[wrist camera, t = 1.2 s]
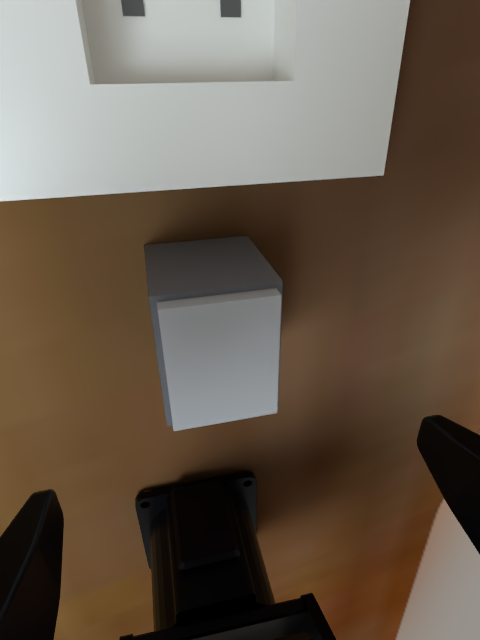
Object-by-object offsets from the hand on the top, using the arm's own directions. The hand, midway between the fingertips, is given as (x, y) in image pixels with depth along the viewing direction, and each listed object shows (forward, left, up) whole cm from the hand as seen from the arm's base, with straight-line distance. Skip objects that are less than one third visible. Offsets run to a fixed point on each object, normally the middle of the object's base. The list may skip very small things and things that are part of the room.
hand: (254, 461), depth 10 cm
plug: (0, 0, -9) cm, 9 cm away
